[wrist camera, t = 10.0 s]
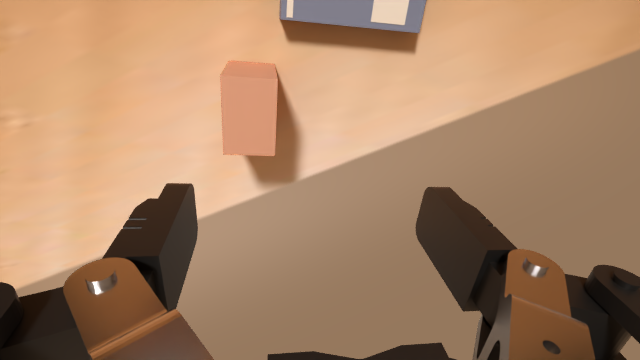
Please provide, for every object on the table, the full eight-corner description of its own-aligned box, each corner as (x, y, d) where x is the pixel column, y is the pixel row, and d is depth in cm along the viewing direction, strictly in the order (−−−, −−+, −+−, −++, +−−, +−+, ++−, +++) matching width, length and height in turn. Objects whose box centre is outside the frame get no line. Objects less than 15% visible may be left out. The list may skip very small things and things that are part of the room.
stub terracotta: (274, 64, 30) (277, 79, 24) (272, 127, 33) (274, 156, 27) (228, 60, 29) (220, 75, 23) (230, 126, 32) (223, 154, 26)
